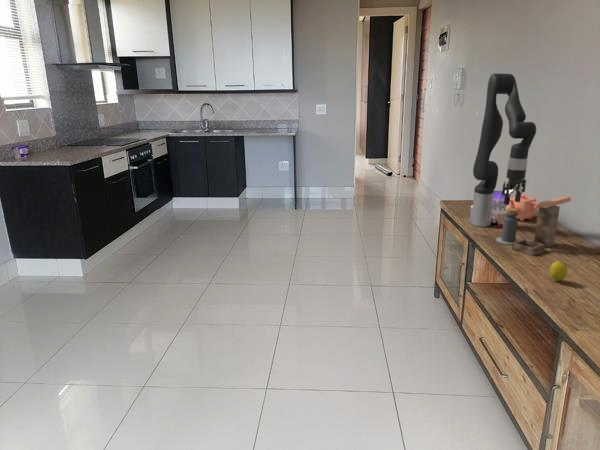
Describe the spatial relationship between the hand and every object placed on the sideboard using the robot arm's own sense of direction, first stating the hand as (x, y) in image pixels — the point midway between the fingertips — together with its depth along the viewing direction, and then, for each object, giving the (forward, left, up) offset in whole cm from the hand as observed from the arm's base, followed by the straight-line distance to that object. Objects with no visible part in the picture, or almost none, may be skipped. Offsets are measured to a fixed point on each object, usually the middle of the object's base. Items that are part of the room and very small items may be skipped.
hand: (511, 203), depth 201 cm
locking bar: (+12, +14, 0) cm, 19 cm away
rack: (+12, +2, -18) cm, 22 cm away
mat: (0, 0, -18) cm, 18 cm away
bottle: (0, 0, -18) cm, 18 cm away
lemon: (+36, -27, -19) cm, 49 cm away
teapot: (-18, +40, -19) cm, 48 cm away
